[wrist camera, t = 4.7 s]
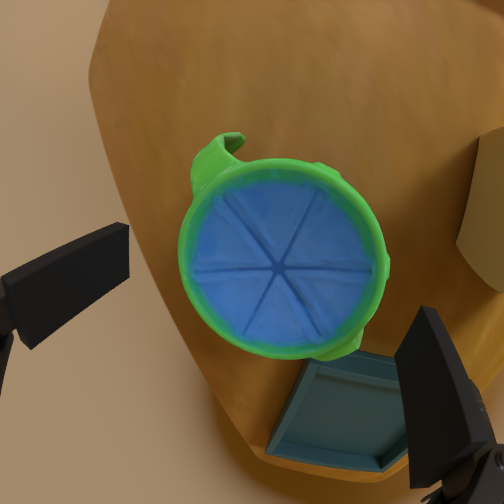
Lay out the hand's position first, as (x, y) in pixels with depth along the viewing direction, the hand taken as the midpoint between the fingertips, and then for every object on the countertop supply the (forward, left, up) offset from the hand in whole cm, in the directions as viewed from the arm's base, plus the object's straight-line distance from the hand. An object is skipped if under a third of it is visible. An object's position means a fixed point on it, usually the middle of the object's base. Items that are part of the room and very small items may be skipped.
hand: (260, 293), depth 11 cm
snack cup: (0, 0, -12) cm, 12 cm away
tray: (-13, +20, -12) cm, 27 cm away
